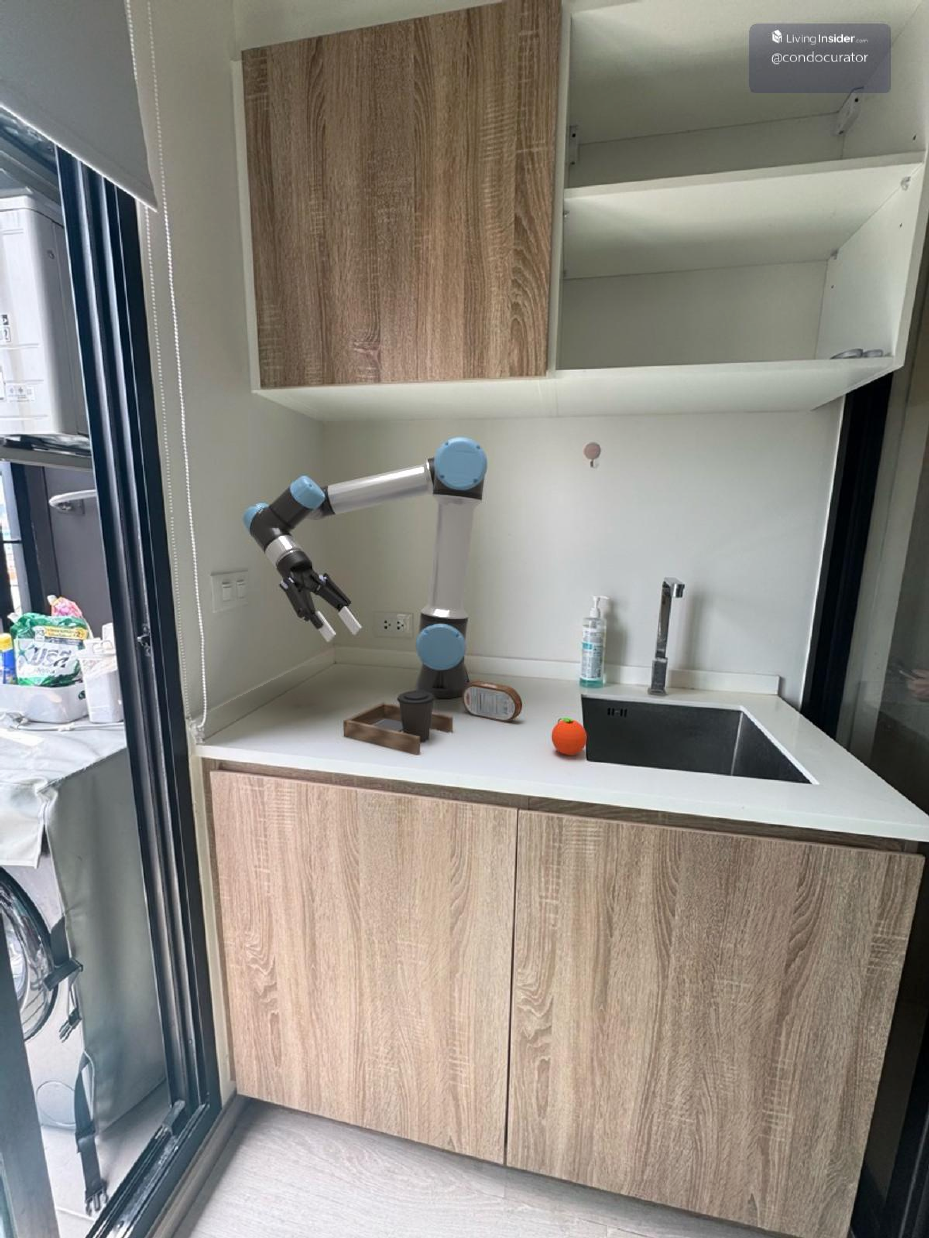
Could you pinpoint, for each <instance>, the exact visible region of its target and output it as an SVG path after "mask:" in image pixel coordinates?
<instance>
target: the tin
mask: <svg viewBox="0 0 929 1238" xmlns="http://www.w3.org/2000/svg"><path fill="white" fill-rule="evenodd" d="M461 698H462V704H463V706H464V708H465V710H466V711H467V712H468V713H469V714H472V716H474V717H475V716H476V717H479V718H484V719H489V720H493V721H497V722H502V723H508V722H510V721H513V720H514V719H516V718H517V717H519V715H521V713H522V710H523V702H522V698H521V695H520V694H519V693H518V692H517V690H515V688H513V687H512V686H509V685H504V684H501V683H500V684H499V683H493V682H488V681H485V680H484V681H482V680H473V681H472V682H470V684H469V685H468V686H467V687H466V688H465V689H464V690H463V694H462V696H461Z"/></svg>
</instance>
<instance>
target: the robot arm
mask: <svg viewBox="0 0 929 1238" xmlns="http://www.w3.org/2000/svg"><path fill="white" fill-rule="evenodd" d="M487 469H488V459H487V454H486V453H485V450H483V448H482V446H481V445H480V444H479V443H478V442H476V441H475V440H473V439H471V438H469V437H464V436H459V437H453V438H450V439H448V440H446V441H445V442H443V444H441V445H440V447H438V450H437V451H436V454H435V456H434V457H430V458H426V459H425V461H424V462H423V463H422V464H419V465H414V466H408V467H404V468H400V469H396V470H392V471H387V472H383V473H379V474H375V475H369V476H364V477H360V478H356V479H352V480H347V481H343V482H338V483H333V484H329V485H324V486H319V485H317V483H316V482H315V481H313V479H311V478H310V477H309V476H307V475H301V476H300V477H298V478H297V479H296V480H295V481H293V482H291V484H290V485H289V487H287V488H286V489H285V490H284V491H283V492H282V493H281V494H280V495H279V496H277V498H276V499H275V500H274V501H273V502H272V503H270V504H268V503H264V502H260V503H255V505H254V506H250V507H248V508H247V509H246V511H245V512H244V513H243V517H242V521H244V522H243V524H244V526H245V527H246V529H247V531H248V532H249V535H250V536H251V537H252V538H253V539H254V541H255V543H256V544H257V545H258V547H260V549H261V550H262V551H263V552H264V555H266V557H267V558H268V559H269V561H270V562H271V563H272V565H273V566H274V568H275V569H276V571H277V572H278V574H279V575H280V576H281V578H282V580H281V581H280V583H279V584H278V586H279V588H280V589H282V590H283V592H284V593H285V596H286V597H287V599H288V601H289V602H290V604H291V606H292V609H293V610H294V611H295V614H296V615H297V617H298V618H299V619H303V621H305V622H309V621H310V622H311V624H312V625H313V626H314V628H315V629H316V630H318V631H319V632H320V634H321V635H322V637H323V638H324V640H325V641H326V642H327V643H329V642H331V641H332V640H333V638H334V637H335V636H336V635H337V632H336V631H335V630H334V629H333V627H332V626H331V624H330V623H329V622H328V620H326V618H325V616H324V615H323V614H322V613H321V611H316V607H315V604H314V601H313V597H312V593H313V594H314V595H315V596H319V597H321V598H322V599H323V600H324V601H325V602H327V603H328V604H329V605H330V606H331V607H333V608H334V609H335V610H336V611H337V612H338V613H337V615H338V616H339V618H340V619H341V620H342V622H343V623H344V624H345V626H346V627H347V629H348V630H349V631H350V633H351V634H352V635H353V636H356V635H357V634H358V633H359V632H360V631H361V629H362V628H363V626H362V625H361V624H360V622H359V621H358V620H357V619H356V617H355V615H354V614H353V612H352V611H351V609H350V608H349V606H350V605H351V604H352V600H351V599H350V598H349V596H347V595H346V594H345V593H344V592H343V591H342V590H341V588H340V587H339V586H338V585H336V584H335V582H334V581H333V580H332V579H331V577H330V575H329V574H328V573H327V572H324V573H323V575H321V574H319V573H318V572H316V571H315V570H314V568H313V562H312V561H311V560H312V559H310V557H309V556H308V555H307V553H306V552H305V551H304V550H303V548H302V546H301V545H300V544H299V542H297V540H296V539H295V538H294V537H293V535H292V534H291V532H292V531H293V530H294V529H295V528H297V526H299V525H300V524H301V523H302V522H303V521H304V520H306V519H309V520H313V521H318V520H319V521H320V520H324V519H325V518H327V517H330V516H331V517H332V516H335V515H339V514H344V513H348V512H353V511H358V510H362V509H366V508H371V507H376V506H381V505H385V504H389V503H394V502H398V501H404V500H407V499H411V498H416V497H421V496H424V495H425V496H426V495H431V496H432V497H433V498H434V500H435V501H436V503H437V513H436V520H435V521H436V523H435V532H434V533H435V534H434V540H433V541H434V543H433V552H432V559H431V560H432V562H431V569H430V570H431V571H430V579H429V581H430V582H429V591H428V600H427V604H426V605H425V606H424V607H423V608H421V609H420V617H419V628H418V636H417V638H416V640H415V651H416V654H417V657H418V659H419V660H420V661H421V666H420V668H419V672H418V675H417V676H418V677H417V680H416V681H415V691H422V690H423V691H426V692H429V693H431V694H433V695H434V697H435V699H451V698H453V699H454V698H459V697H462V694H463V690H464V689H465V688H466V687H467V686H468V685H469V684H470V683H471V680H470V676H469V673H468V671H467V668H466V664H465V663H466V662H465V654H466V650H467V644H466V639H467V630H468V629H467V628H468V620H469V614H468V613H467V612H466V610H465V608H464V601H465V593H466V592H465V591H466V584H467V578H468V577H467V575H468V567H469V560H470V559H469V557H470V551H471V540H472V532H473V524H474V517H475V516H474V515H475V508H476V507H478V506H479V505H480V504H481V503H482V500H483V494H484V493H483V492H484V485H485V484H484V483H485V476H486V474H487Z"/></svg>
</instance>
